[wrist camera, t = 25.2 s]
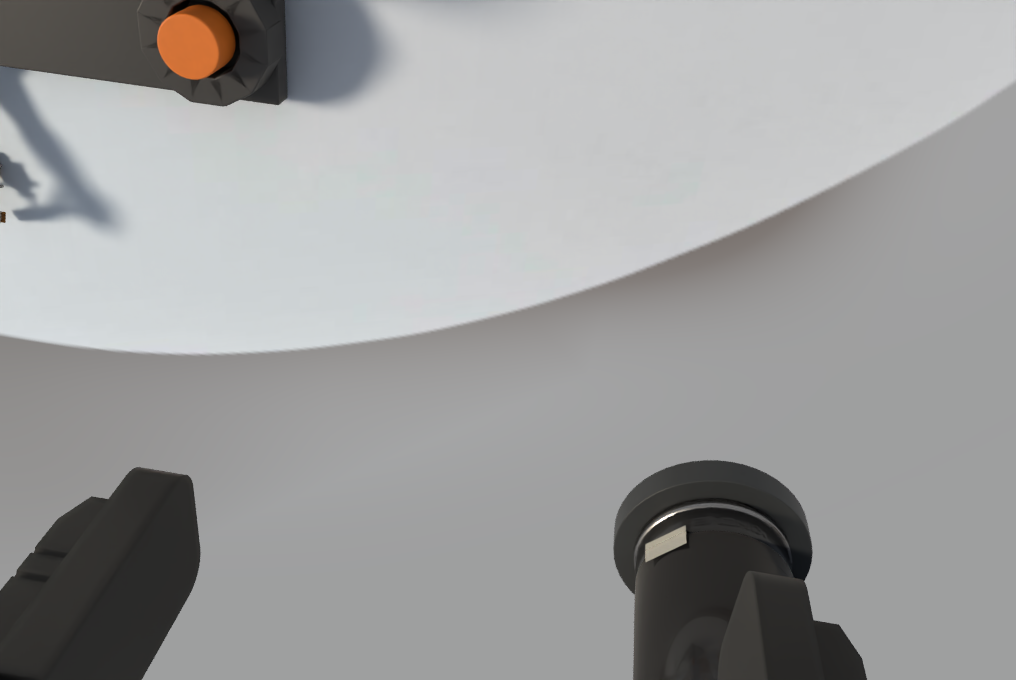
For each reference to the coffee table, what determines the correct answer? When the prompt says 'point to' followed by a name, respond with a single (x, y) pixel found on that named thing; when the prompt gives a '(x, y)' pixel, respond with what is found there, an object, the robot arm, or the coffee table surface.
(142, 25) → the scale
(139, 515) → the robot arm
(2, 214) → the wooden lantern bracket
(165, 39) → the button
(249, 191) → the coffee table surface
